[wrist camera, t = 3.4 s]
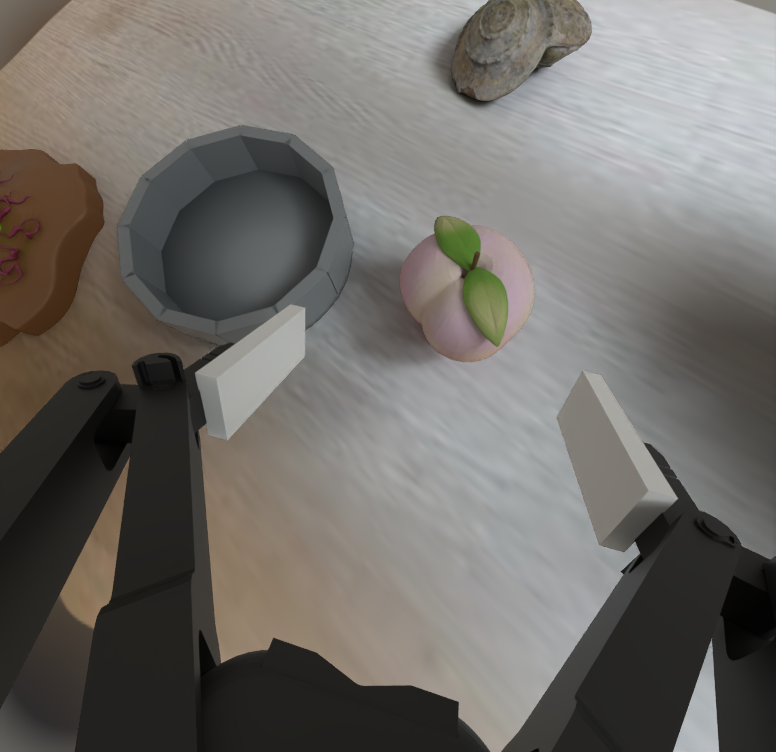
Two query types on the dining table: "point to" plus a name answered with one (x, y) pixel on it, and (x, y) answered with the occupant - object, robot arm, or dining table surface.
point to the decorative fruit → (467, 289)
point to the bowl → (235, 234)
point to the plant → (42, 238)
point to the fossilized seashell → (515, 43)
